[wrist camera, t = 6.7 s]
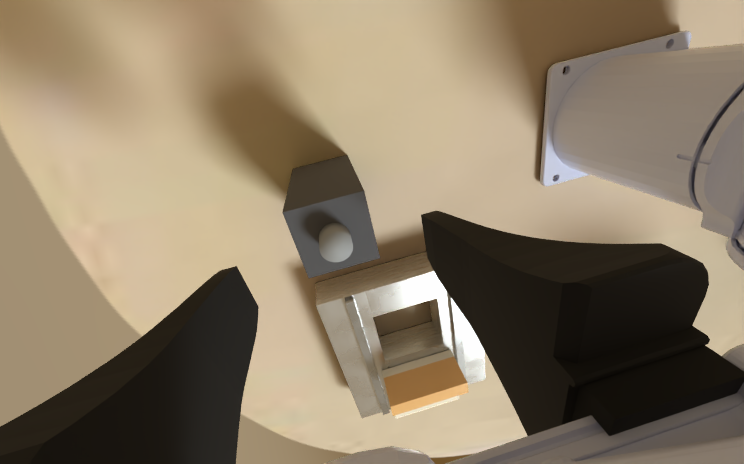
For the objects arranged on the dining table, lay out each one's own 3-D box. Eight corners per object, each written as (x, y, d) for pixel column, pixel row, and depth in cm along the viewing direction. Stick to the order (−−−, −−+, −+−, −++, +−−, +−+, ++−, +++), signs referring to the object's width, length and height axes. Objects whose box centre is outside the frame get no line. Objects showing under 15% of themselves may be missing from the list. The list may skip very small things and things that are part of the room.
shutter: (450, 349, 25) (467, 382, 22) (455, 391, 27) (471, 425, 25) (381, 370, 24) (390, 407, 21) (394, 411, 27) (403, 448, 24)
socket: (464, 240, 23) (483, 261, 20) (472, 356, 30) (487, 383, 27) (315, 282, 22) (315, 309, 20) (358, 391, 29) (362, 422, 26)
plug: (347, 154, 18) (367, 199, 11) (359, 204, 20) (384, 269, 13) (292, 168, 18) (280, 222, 11) (310, 218, 20) (308, 291, 13)
